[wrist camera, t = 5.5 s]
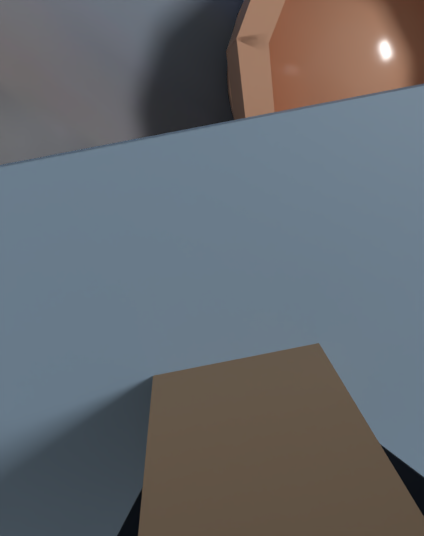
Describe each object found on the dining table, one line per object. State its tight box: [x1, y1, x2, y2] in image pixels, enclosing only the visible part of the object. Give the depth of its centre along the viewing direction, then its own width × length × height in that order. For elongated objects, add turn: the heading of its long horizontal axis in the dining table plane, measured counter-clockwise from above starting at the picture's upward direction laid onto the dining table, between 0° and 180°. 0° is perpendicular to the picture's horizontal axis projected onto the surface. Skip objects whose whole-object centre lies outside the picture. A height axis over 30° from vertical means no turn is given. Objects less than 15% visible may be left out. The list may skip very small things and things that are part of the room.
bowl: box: [226, 0, 424, 120], centre depth 15 cm, size 11×11×4 cm
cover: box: [0, 84, 424, 536], centre depth 7 cm, size 13×13×6 cm
